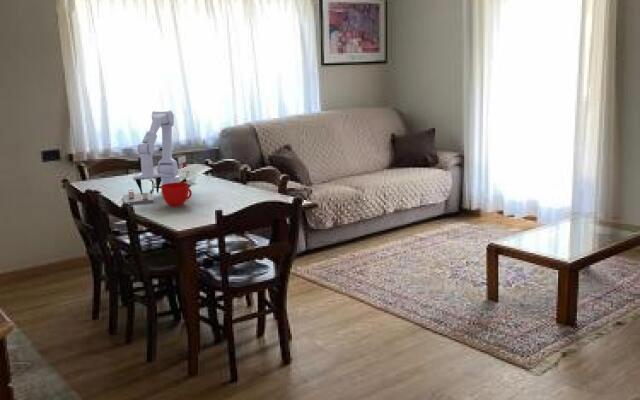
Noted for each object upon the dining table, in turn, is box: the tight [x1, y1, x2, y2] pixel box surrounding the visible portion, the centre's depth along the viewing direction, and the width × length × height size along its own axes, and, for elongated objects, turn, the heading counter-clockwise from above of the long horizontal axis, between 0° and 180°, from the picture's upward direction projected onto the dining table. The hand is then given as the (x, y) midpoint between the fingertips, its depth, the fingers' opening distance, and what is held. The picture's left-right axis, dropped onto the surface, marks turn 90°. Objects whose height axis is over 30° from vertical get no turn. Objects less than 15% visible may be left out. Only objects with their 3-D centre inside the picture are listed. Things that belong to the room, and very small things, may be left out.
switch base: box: [122, 192, 155, 206], centre depth 309 cm, size 14×19×2 cm
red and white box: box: [172, 154, 188, 169], centre depth 355 cm, size 11×4×15 cm, turn 168°
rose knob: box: [128, 190, 135, 198], centre depth 307 cm, size 2×2×3 cm
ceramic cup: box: [160, 182, 192, 208], centre depth 294 cm, size 13×17×10 cm
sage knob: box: [142, 191, 148, 199], centre depth 303 cm, size 2×2×3 cm
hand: (149, 193), depth 304 cm, fingers open, 7 cm apart
